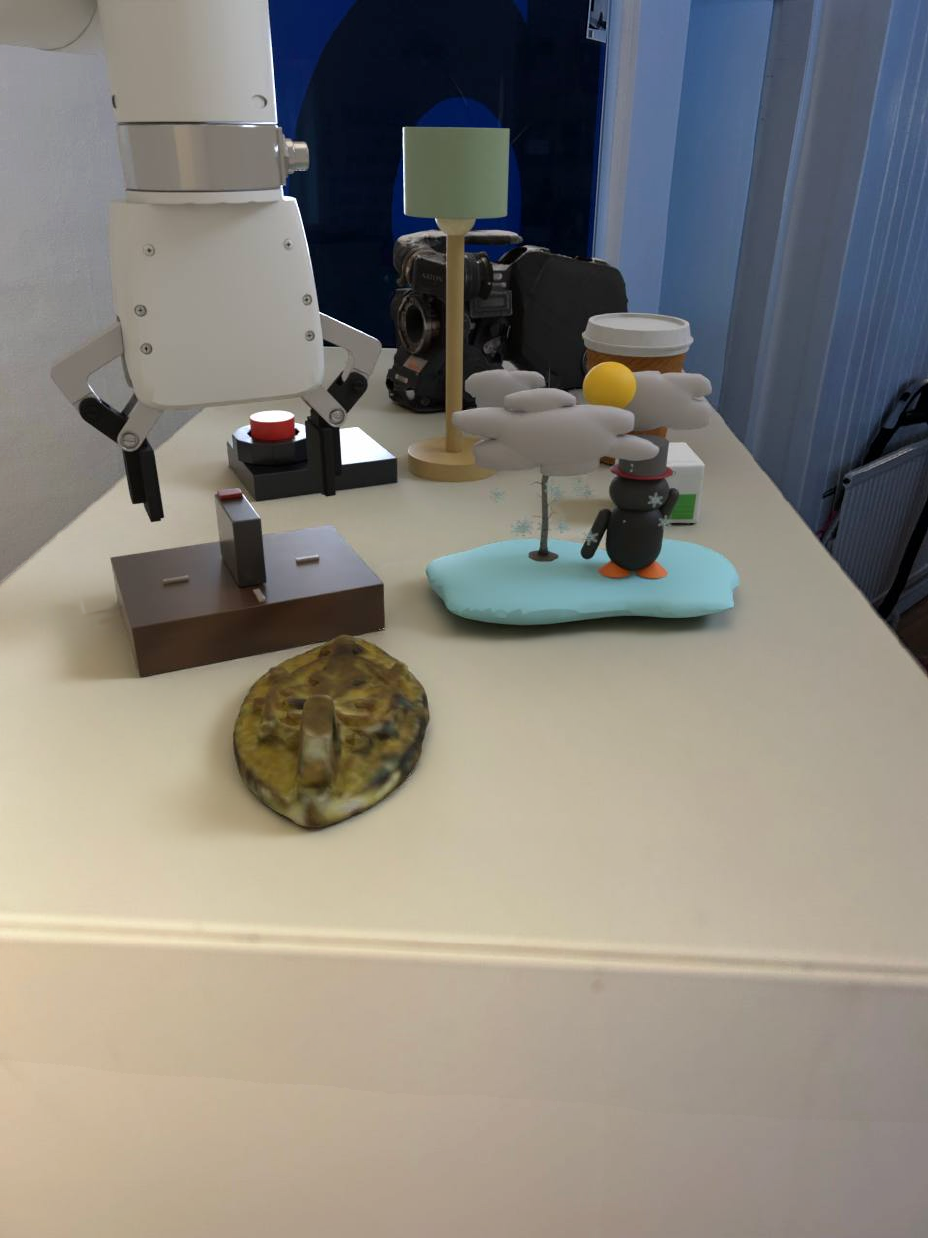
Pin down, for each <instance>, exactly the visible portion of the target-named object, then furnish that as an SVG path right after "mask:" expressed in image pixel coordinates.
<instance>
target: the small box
mask: <svg viewBox="0 0 928 1238" xmlns="http://www.w3.org/2000/svg"><path fill="white" fill-rule="evenodd" d="M618 462H619V459H615V464H618ZM666 467H669V468H670V469H672V470H673V474H672V475H671V476H669V477H667V478H665V479H666V481H667V483H668V485H669V489H670V488H675V489H677V490H678V492H679V499H678V501H677V503H676V505H675V507H674V509H673V510H672V512H671V514H670V516H669V518H668V519H669V520H670V522H669V520H667V521H668V522H667V523H668V524H690V523H695V524H697V523H698V520H699V512H700V506H701V505H700V503H701V496H702V490H703V483H704V475H705V468H706V464H705V463H704V462H703V461H702V460H701V458H700V457H699V456H698V455H697V454H696V453H695V452H694V451H693V450H692V448H691V447H690V446H689V445H688V443H687V442H684V441H683V442H682V441H681V442H680V441H679V442H674V441H673V442H669V447H668V456H667V464H666ZM615 476H616V475H615V474H613V478H614V477H615ZM671 520H672V521H671Z"/></svg>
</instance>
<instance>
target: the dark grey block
mask: <svg viewBox="0 0 928 1238" xmlns="http://www.w3.org/2000/svg"><path fill="white" fill-rule="evenodd" d="M214 503H215V504H214V505H215V512H216V521H217V530H218V531H217V532H218V537H219V538H218V539H219V541H220V548H221V555H222V557H223V559H224V561H225V562H226V564H227V566H228V568H229V569H230V571H231V573H232V575H233V577H234V578H235V580H236V582H237V584H238V586H239V587H246V586H252V585H258V584H264V583H266V582H267V580H266V569H265V558H264V547H263V537H262V535H263V528H262V526H263V525H262V519H261V517H260V516H259V514H258V512H257V511H256V510H255V509H254V507H253V506H252V504H251V503H250V502H249V500H248V499H247V498H246V496H245V494H244V493H243V492H242V490H241V489H240V488H239V487H233V488H226V489H218V490H216V493H215V494H214Z"/></svg>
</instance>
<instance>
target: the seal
mask: <svg viewBox="0 0 928 1238" xmlns="http://www.w3.org/2000/svg"><path fill="white" fill-rule="evenodd" d="M430 718H431V717H430V711H429V701H428V695H427V692H426V690H425V688H424V686H423V684H422V683H421V681H419V679H418V678H417V677H416V675H415V674H414V673H412V672H411V671H410V670H409V666H408V665H407V664H406V663H405V662H402V661H400V660H398V659H397V658H395V657H393V656H391V655H390V654H389V653H388V652H386V651H384V650H383V649H382V648H381V647H379V646H378V645H376V644H375V643H373V642H370V641H367V640H366V639H362V638H359V637H356V636H355V637H354V636H353V635H351V636H349V635H340V636H338V637H336V638H334V639H331V640H327V642H326V641H325V643H323V644H321V645H318V646H316V647H314V648H311V649H309V650H307V651H305V652H304V653H299V654H297V655H296V654H295V656H293V657H291V658H287V659H285V660H284V661H282V662H280V663H278V665H276V666H272V667H270V668H269V669H268V671H267V672H266V673H264V674H263V675H262V676H260V677H259V678H258V679H257V680H256V681H254V683H253V684H252V685H251V686H250V688H249V690H248V693H247V694H246V695H245V697H244V698H243V701H242V703H241V705H240V709H239V712H238V715H237V718H236V719H235V721H234V722H235V723H234V727H233V731H232V745H233V747H232V748H233V753H234V757H235V761H236V765H237V767H238V771H239V775H240V777H241V780H242V781H243V783H244V784H245V785H246V786H247V788H248V789H249V790H250V791H251V792H252V793H254V794H255V796H256V798H257V799H258V800H260V801H261V802H262V803H263V804H264V805H265V806H266V807H267V808H269V809H271V810H273V811H274V812H276V813H277V814H280V815H282V816H283V817H286V818H287V819H289V820H291V821H292V822H294V823H295V824H297V825H299V826H301V827H308V828H322V827H326V826H329V825H332V824H337V823H340V822H341V821H344V820H346V819H348V818H350V817H351V816H353V815H356V814H359V813H363V812H365V811H366V810H368V809H370V808H372V807H374V806H376V805H377V804H378V803H380V802H381V801H384V800H385V799H386V798H387V797H389V796H390V795H391V794H392V793H393V792H394V791H396V789H398V788H399V787H401V786H402V785H403V783H404V782H405V781H407V778H408V777H409V776H410V775H411V774H412V772H413V771H414V770H415V768H416V766H417V765H418V762H419V760H420V757H421V755H422V751H423V742H424V739H425V735H426V730H427V726H428V724H429V722H430ZM410 773H411V774H410ZM409 774H410V775H409ZM408 775H409V776H408ZM407 776H408V777H407Z"/></svg>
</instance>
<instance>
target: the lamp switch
mask: <svg viewBox="0 0 928 1238" xmlns="http://www.w3.org/2000/svg"><path fill="white" fill-rule="evenodd" d="M295 423H296V422H295V415H294V414H293V413H292V412H289V411H285V410H264V411H259V412H255V413H252V414H251V415H250V416H249V425H250V427H251V438H255V439H259V440H279V439H287V438H291V437H294V436H296V434H295Z"/></svg>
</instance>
